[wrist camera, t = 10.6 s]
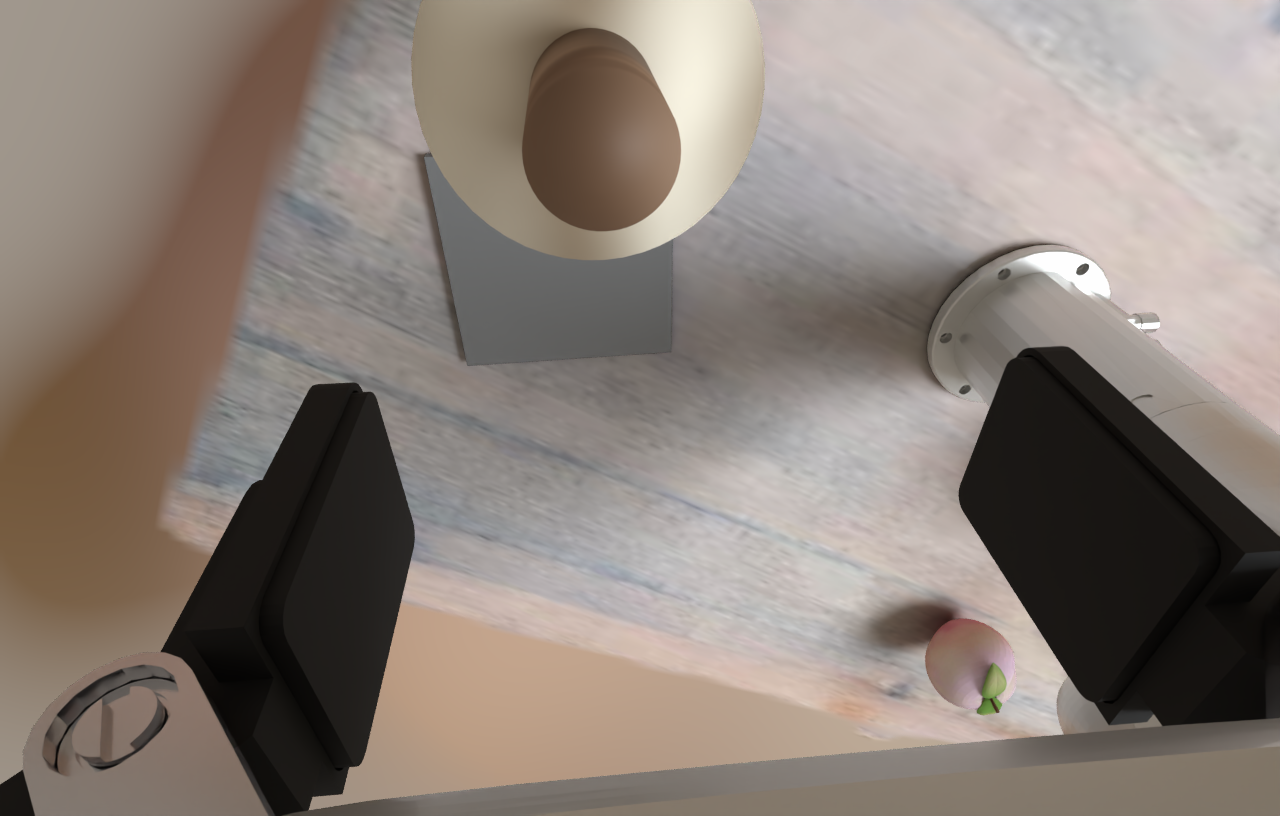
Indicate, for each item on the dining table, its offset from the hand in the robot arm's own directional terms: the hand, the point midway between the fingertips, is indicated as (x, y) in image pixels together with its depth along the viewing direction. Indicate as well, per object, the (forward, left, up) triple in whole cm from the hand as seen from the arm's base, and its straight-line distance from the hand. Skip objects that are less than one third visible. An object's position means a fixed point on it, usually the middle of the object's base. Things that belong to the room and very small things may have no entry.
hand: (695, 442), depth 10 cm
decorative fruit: (-34, +56, -33) cm, 73 cm away
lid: (+1, -2, -14) cm, 14 cm away
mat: (+3, +12, -32) cm, 35 cm away
